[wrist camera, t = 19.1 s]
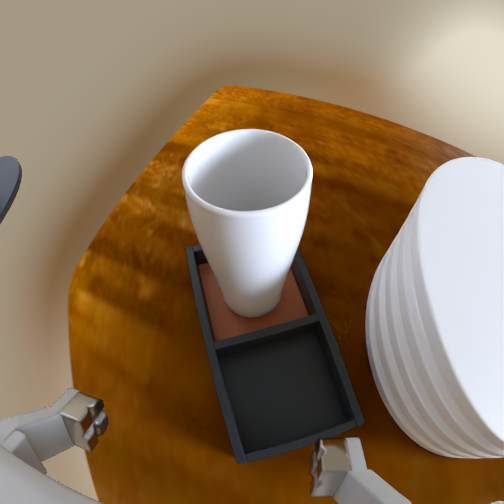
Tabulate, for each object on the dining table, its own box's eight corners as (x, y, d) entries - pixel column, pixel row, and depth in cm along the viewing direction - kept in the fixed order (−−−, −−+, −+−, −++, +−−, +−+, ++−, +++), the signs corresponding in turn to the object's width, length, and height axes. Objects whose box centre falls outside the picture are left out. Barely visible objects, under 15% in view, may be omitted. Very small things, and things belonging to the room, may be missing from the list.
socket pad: (239, 459, 20) (237, 464, 17) (191, 264, 30) (184, 247, 27) (353, 423, 21) (365, 423, 19) (285, 241, 31) (288, 223, 29)
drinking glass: (199, 296, 27) (153, 173, 14) (248, 248, 30) (241, 114, 17) (256, 343, 25) (255, 243, 12) (304, 287, 27) (339, 160, 15)
